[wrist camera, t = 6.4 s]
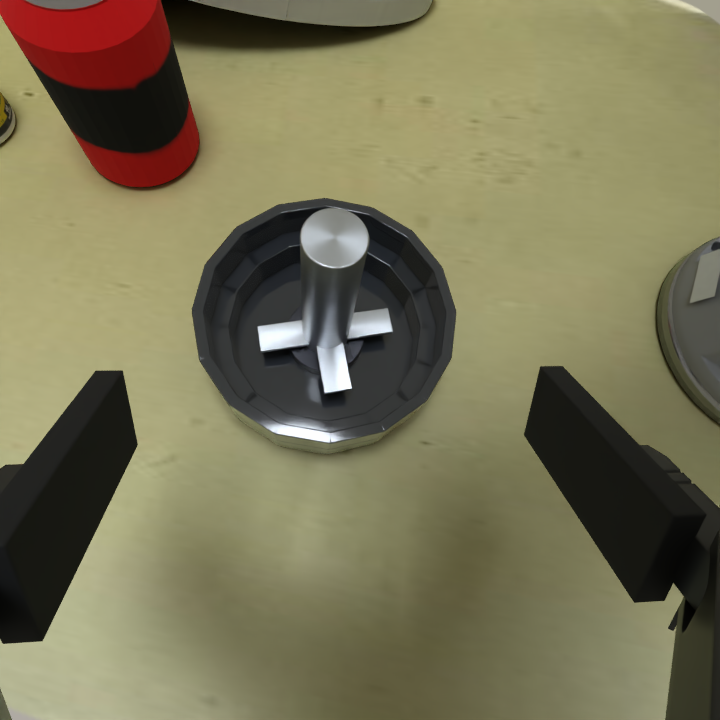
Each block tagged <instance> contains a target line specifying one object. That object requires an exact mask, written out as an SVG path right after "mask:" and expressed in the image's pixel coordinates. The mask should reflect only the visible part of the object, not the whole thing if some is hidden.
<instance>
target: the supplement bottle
mask: <svg viewBox="0 0 720 720" xmlns="http://www.w3.org/2000/svg"><path fill="white" fill-rule="evenodd" d="M14 127H15V114H14V112H13V109H12V108H11V106H10V104H9V103H8V102H7V100H6V99H5V98H4V96H3V95H2V93H1V92H0V144H1V143H2V142H4V141H5V140H6V139H7V138H8V137H9V136H10V134H11V133H12V131H13V129H14Z"/></svg>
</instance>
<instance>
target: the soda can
mask: <svg viewBox="0 0 720 720" xmlns="http://www.w3.org/2000/svg"><path fill="white" fill-rule="evenodd" d="M0 14H1V16H2V18H3V20H4V22H5V24H6V25H7V27H8V28H9V30H10V32H11V33H12V35H13V37H14V38H15V40H16V41H17V43H18V45H19V46H20V48H21V50H22V51H23V53H24V54H25V56H26V58H27V59H28V61H29V63H30V64H31V66H32V67H33V69H34V71H35V72H36V74H37V76H38V77H39V79H40V81H41V82H42V84H43V85H44V87H45V89H46V90H47V92H48V94H49V95H50V97H51V98H52V100H53V102H54V103H55V105H56V107H57V108H58V110H59V111H60V113H61V115H62V116H63V118H64V120H65V121H66V123H67V124H68V126H69V128H70V129H71V131H72V133H73V134H74V136H75V137H76V139H77V141H78V142H79V144H80V146H81V147H82V149H83V151H84V152H85V154H86V155H87V157H88V159H89V160H90V162H91V164H92V165H93V166H94V167H95V169H96V170H97V171H98V172H99V173H100V174H102V175H103V176H104V177H106V178H107V179H109V180H111V181H113V182H116V183H118V184H122V185H126V186H132V187H151V186H156V185H161V184H164V183H166V182H169V181H171V180H173V179H174V178H176V177H177V176H179V175H181V174H182V173H183V172H184V171H185V170H186V169H187V168H188V167H189V166H190V165H191V163H192V162H193V160H194V159H195V157H196V154H197V152H198V147H199V133H198V129H197V126H196V122H195V119H194V115H193V112H192V108H191V105H190V101H189V98H188V94H187V91H186V87H185V84H184V80H183V77H182V73H181V70H180V66H179V63H178V59H177V56H176V52H175V49H174V45H173V42H172V38H171V35H170V31H169V28H168V24H167V21H166V17H165V14H164V10H163V7H162V3H161V0H0Z"/></svg>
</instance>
